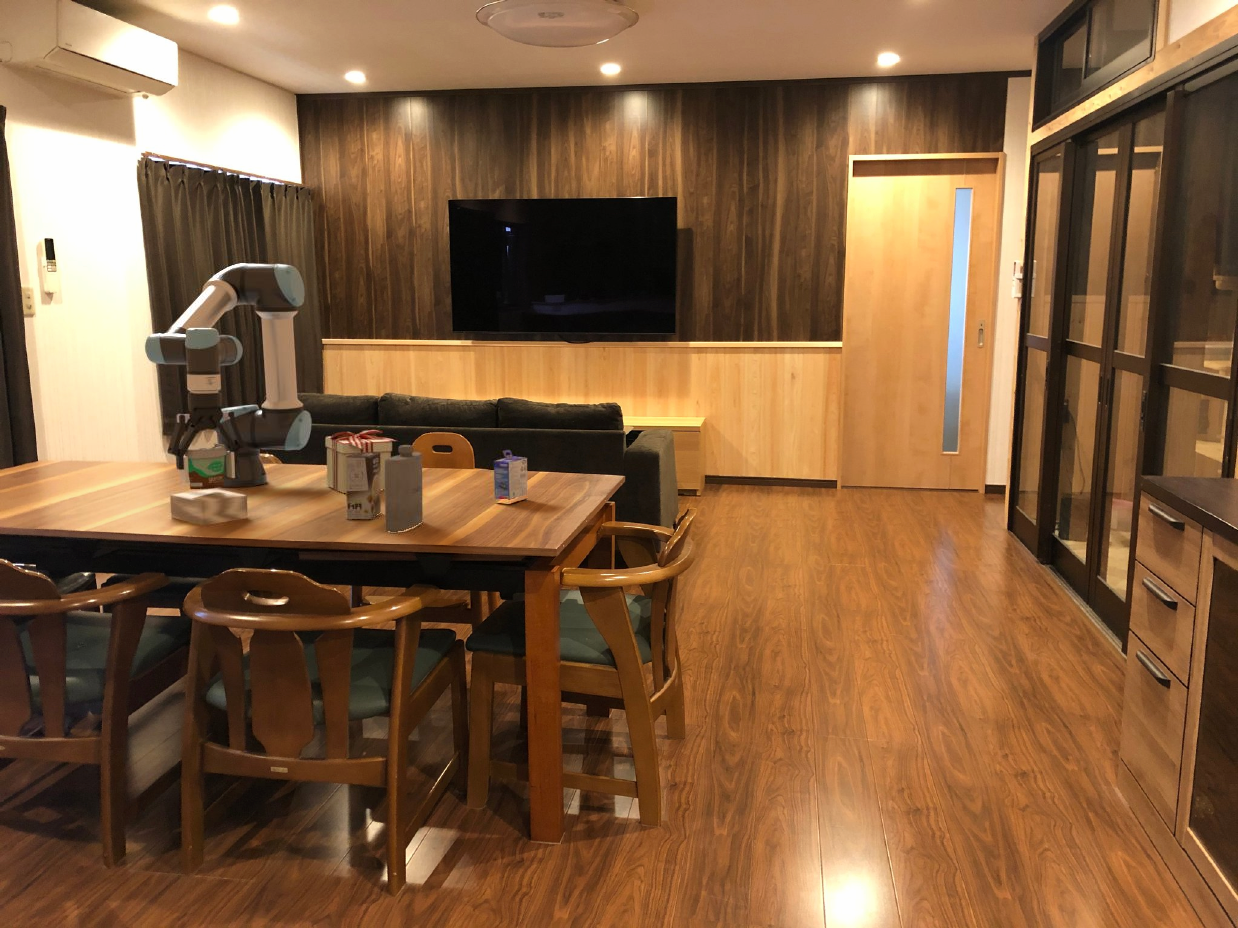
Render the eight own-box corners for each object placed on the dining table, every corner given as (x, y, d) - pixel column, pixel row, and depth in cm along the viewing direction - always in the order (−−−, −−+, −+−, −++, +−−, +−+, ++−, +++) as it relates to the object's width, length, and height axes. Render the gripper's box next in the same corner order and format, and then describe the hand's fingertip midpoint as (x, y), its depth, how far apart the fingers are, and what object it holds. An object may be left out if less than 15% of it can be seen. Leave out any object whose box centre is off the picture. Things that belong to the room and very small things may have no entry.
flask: (405, 534, 224) (404, 450, 221) (382, 532, 225) (381, 449, 222) (428, 521, 239) (428, 442, 236) (406, 520, 240) (405, 441, 237)
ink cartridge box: (511, 497, 272) (511, 447, 270) (528, 499, 270) (528, 449, 268) (492, 503, 264) (493, 451, 261) (509, 505, 261) (510, 453, 259)
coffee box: (371, 520, 238) (370, 457, 235) (346, 519, 238) (345, 456, 236) (381, 513, 247) (380, 452, 245) (357, 512, 247) (356, 451, 245)
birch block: (215, 511, 246) (215, 488, 245) (247, 518, 238) (246, 495, 237) (171, 518, 236) (170, 494, 235) (202, 526, 228) (201, 502, 227)
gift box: (350, 496, 268) (348, 436, 266) (322, 487, 282) (320, 429, 280) (404, 490, 280) (403, 432, 277) (374, 481, 293) (374, 426, 291)
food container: (208, 491, 230) (206, 451, 229) (186, 490, 232) (184, 449, 230) (239, 483, 242) (237, 444, 241) (217, 481, 244) (215, 443, 242)
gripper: (163, 395, 221) (167, 487, 224) (257, 390, 239) (260, 476, 242) (148, 392, 226) (153, 483, 229) (241, 388, 244) (244, 472, 247)
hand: (208, 479), depth 236 cm, fingers closed on food container, 11 cm apart
